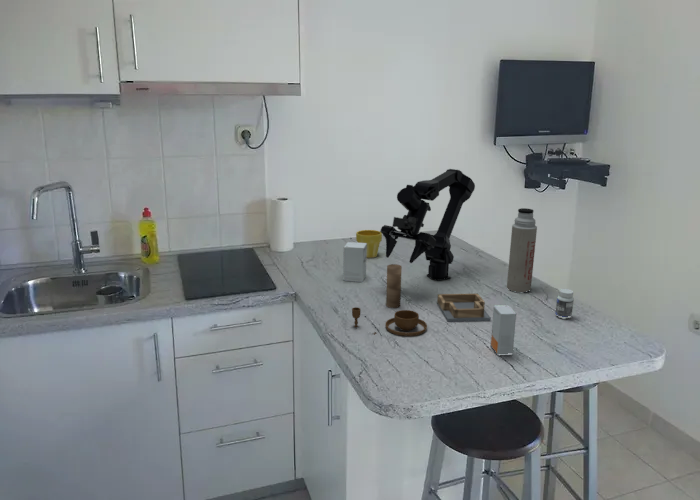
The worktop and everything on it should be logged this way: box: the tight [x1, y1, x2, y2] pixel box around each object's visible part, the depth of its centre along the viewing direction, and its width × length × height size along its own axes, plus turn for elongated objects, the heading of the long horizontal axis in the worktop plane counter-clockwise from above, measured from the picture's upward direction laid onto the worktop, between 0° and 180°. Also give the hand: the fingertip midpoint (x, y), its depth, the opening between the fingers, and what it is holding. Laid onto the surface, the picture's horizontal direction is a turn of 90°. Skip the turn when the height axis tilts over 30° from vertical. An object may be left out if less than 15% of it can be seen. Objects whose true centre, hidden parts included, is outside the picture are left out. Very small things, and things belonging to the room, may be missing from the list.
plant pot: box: [355, 229, 383, 259], centre depth 236 cm, size 10×10×10 cm
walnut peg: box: [385, 263, 403, 309], centre depth 183 cm, size 4×4×13 cm
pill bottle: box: [554, 288, 575, 317], centre depth 176 cm, size 5×5×8 cm
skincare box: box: [490, 304, 517, 354], centre depth 152 cm, size 6×4×12 cm
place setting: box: [351, 307, 428, 337], centre depth 169 cm, size 18×20×6 cm
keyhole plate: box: [436, 292, 492, 323], centre depth 179 cm, size 14×13×4 cm
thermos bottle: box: [506, 207, 538, 293], centre depth 197 cm, size 8×8×28 cm
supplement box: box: [342, 241, 368, 283], centre depth 208 cm, size 7×7×13 cm
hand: (398, 259), depth 189 cm, fingers open, 9 cm apart
